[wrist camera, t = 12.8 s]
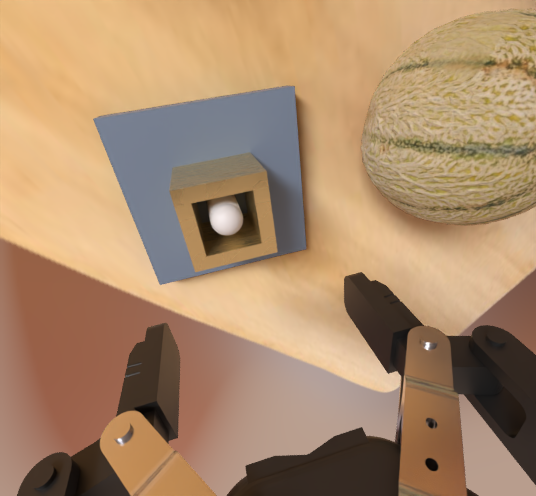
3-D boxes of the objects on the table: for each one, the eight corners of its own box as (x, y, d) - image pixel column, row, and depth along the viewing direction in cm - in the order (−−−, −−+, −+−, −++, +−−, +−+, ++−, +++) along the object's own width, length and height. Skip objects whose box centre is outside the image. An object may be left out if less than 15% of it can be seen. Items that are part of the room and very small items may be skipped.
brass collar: (249, 152, 25) (266, 171, 20) (260, 220, 28) (277, 252, 23) (172, 167, 24) (169, 191, 19) (193, 236, 27) (195, 272, 22)
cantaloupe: (303, 113, 26) (414, 145, 14) (441, -22, 24) (734, -136, 11) (378, 219, 34) (495, 302, 21) (489, 124, 31) (697, 155, 19)
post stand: (287, 85, 25) (326, 88, 18) (300, 240, 33) (331, 283, 26) (99, 116, 23) (62, 132, 16) (161, 273, 30) (154, 330, 24)
